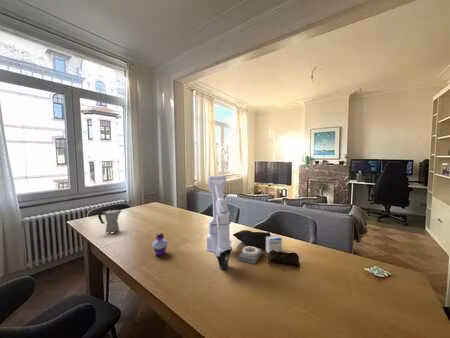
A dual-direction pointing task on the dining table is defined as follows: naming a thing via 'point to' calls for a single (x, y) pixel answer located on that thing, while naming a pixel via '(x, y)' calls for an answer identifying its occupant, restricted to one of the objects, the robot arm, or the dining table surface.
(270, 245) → the medicine box
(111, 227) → the coffeepot
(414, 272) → the dining table surface
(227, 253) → the lens
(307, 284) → the dining table surface
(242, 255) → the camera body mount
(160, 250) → the potion bottle
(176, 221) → the dining table surface
